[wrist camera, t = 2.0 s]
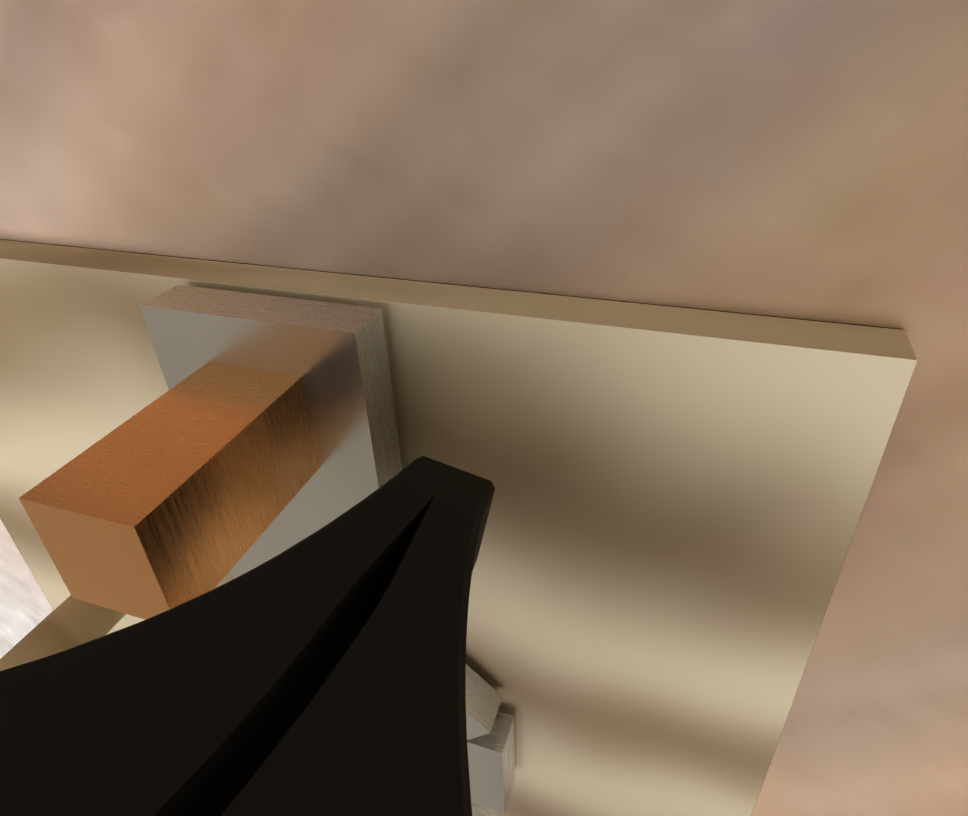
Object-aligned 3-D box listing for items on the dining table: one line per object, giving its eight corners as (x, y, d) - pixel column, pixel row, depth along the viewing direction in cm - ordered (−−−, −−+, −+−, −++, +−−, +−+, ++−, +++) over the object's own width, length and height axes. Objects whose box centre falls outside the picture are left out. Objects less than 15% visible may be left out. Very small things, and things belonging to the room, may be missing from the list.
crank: (516, 831, 20) (458, 1041, 16) (264, 744, 23) (161, 907, 19) (507, 323, 11) (367, 522, 7) (86, 274, 13) (-191, 399, 10)
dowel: (140, 614, 21) (33, 726, 18) (101, 602, 22) (-10, 710, 19) (124, 579, 20) (8, 690, 17) (84, 568, 21) (-36, 674, 18)
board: (714, 884, 20) (712, 921, 20) (127, 685, 27) (108, 706, 26) (904, 330, 10) (916, 360, 9) (-117, 228, 17) (-159, 240, 16)
